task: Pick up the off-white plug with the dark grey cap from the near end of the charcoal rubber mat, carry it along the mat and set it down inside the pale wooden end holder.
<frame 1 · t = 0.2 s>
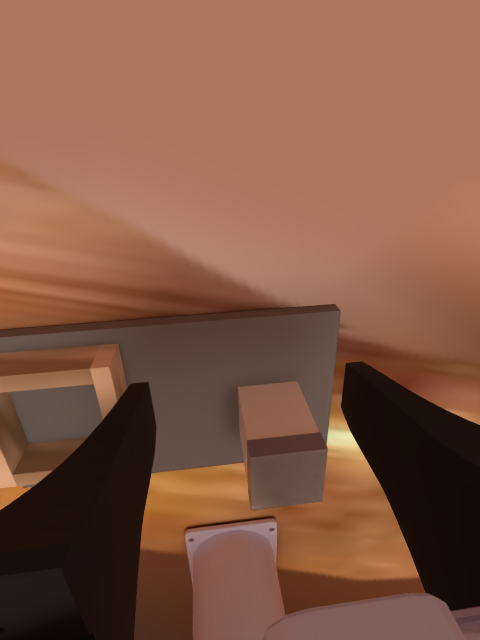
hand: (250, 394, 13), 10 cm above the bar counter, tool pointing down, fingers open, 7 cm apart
plug: (267, 407, 25), point 1 cm above the bar counter, touching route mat
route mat: (171, 396, 25), on the bar counter
end holder: (69, 393, 24), resting on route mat
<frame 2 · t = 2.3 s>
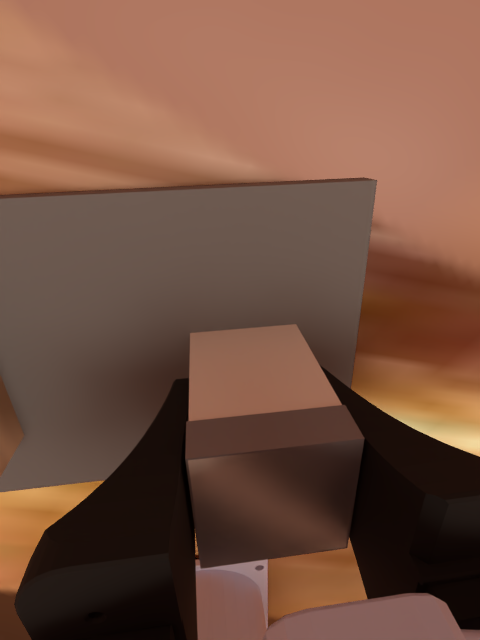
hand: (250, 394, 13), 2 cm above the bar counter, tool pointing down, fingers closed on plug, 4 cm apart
plug: (245, 372, 14), point 1 cm above the bar counter, touching gripper, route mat
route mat: (78, 353, 14), on the bar counter
when the fingers open (4 cm above the bar counter, at t = 6.3 s): plug drops 1 cm, resting on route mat.
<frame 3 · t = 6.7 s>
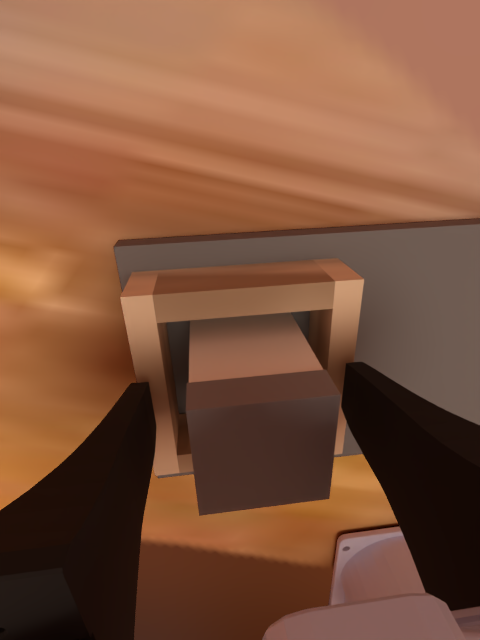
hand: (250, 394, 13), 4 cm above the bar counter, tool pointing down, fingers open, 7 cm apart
plug: (240, 351, 16), point 1 cm above the bar counter, touching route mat
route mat: (371, 348, 18), on the bar counter
end holder: (238, 342, 17), resting on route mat
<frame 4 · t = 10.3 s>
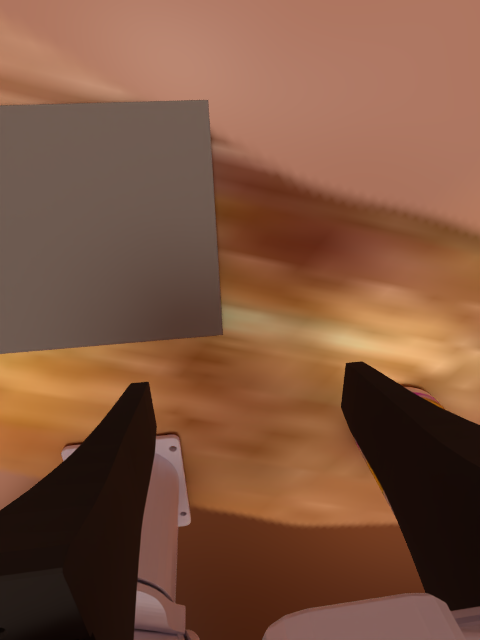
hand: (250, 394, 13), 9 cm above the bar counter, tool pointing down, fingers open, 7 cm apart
supplement bottle: (390, 416, 28), on the bar counter
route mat: (4, 242, 19), on the bar counter
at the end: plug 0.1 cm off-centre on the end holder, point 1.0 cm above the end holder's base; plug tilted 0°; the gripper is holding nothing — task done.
